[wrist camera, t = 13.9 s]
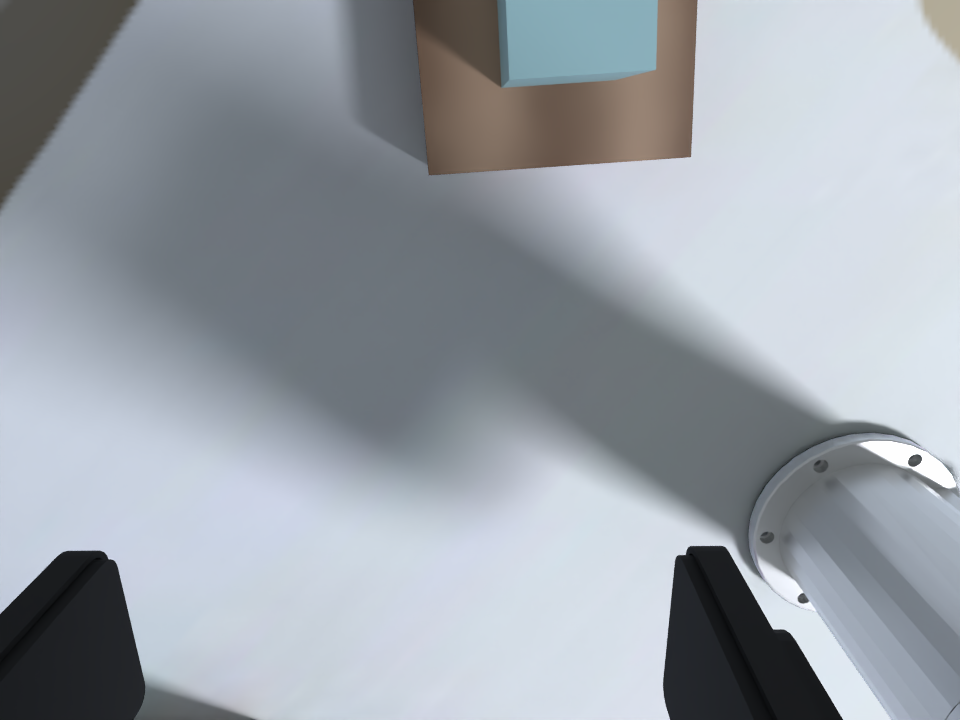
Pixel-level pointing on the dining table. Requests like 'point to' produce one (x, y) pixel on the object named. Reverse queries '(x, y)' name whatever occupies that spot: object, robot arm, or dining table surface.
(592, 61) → the teal block
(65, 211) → the dining table surface
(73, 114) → the dining table surface
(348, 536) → the dining table surface
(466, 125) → the walnut plinth
